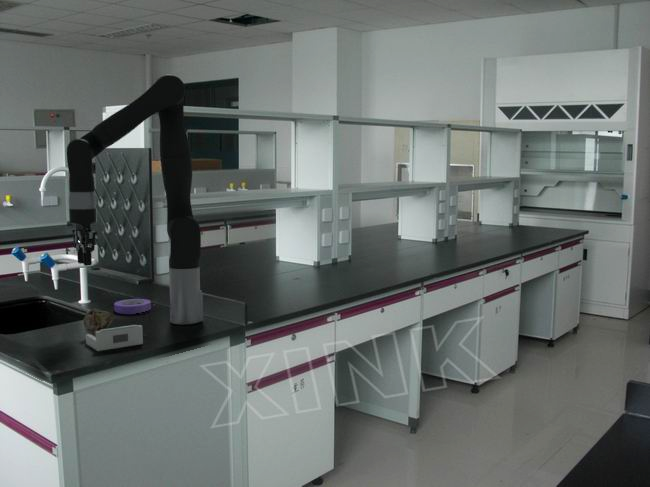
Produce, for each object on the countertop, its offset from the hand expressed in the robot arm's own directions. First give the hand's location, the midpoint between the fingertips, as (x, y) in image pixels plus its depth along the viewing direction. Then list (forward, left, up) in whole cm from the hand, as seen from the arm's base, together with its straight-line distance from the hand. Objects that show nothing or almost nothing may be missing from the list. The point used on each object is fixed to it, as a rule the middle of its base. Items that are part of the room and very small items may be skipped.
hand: (84, 264), depth 201 cm
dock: (0, +23, -19) cm, 30 cm away
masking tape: (-19, -12, -20) cm, 30 cm away
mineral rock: (0, +11, -20) cm, 22 cm away
